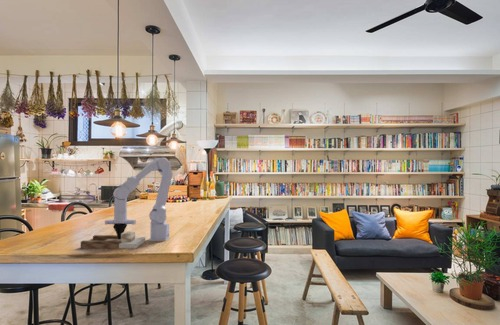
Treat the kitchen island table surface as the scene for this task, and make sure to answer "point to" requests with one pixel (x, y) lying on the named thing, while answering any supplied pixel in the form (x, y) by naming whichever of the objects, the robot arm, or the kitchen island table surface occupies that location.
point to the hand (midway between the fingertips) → (120, 238)
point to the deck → (111, 242)
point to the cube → (127, 236)
